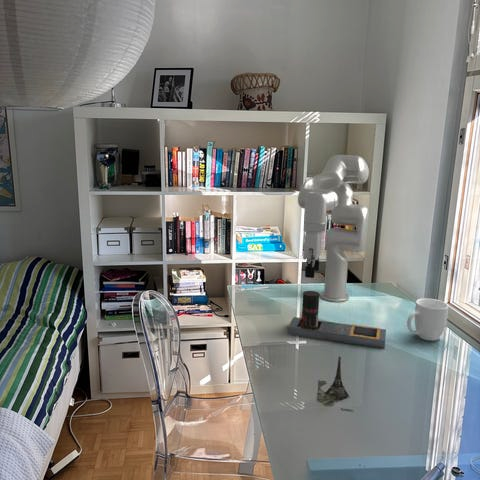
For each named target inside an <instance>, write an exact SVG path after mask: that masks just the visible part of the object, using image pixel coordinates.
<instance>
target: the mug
mask: <svg viewBox="0 0 480 480" xmlns="http://www.w3.org/2000/svg"><path fill="white" fill-rule="evenodd" d="M448 314H449V304H448V303H446V302H445V301H443V300H439V299H434V298H419V299H417V300H416V301H415V307H414V311H412V312H411V313H410V314H409V315H408V318H407V321H406V327H407V330H409V332H410V333H412V334H415V335H417V336H418V337H419V338H420V339H422V340H425V341H428V342H429V341H430V342H435V341H438V340H439V339H440V338H441V337H442V335H443V333H444V331H445V329H446V326H447V322H448ZM413 318H414V327H415V330H413V329H412V319H413Z"/></svg>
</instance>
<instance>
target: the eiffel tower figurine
mask: <svg viewBox="0 0 480 480" xmlns="http://www.w3.org/2000/svg"><path fill="white" fill-rule="evenodd" d="M337 359H338V361H337V368H336V374H335V377H334V380H333V383H332V384H330V387H329V388H328V389H327V390H326V391H324V390H323V389H321V388H322V387H323V386H325V385H327V384H328V382H327V381H326V380H323V379H318V384H317V386H318V387H317V394H316V402H318V403H320V404H321V405H323V406H324V407H334V406H335V403H339V402H342V401H345V400H347V399H349V398H351V396H350V395H349V393H348V391H347V390H346V387H345V386H344V384H343V381H342V374H341V373H342V372H341V371H342V369H341V359H342V357H341V355H339V356H338V358H337ZM334 402H335V403H334ZM340 411H349V412H353V411H354V410H353V409H350V408H349V409H348V408H344V409H343V408H340Z"/></svg>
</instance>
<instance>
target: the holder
mask: <svg viewBox="0 0 480 480" xmlns="http://www.w3.org/2000/svg"><path fill="white" fill-rule="evenodd" d="M301 323H302V317H297V316H295V317H294V316H293V318H292V319H291V321H290V323H289V324H288V326H287V335H290V336H296V337H304V338H310V339H316V338H317V340H324V341H329V340H330V342H336V341H337V343H344V344H350V345H351V344H352V345H358V346H365V347H372V348H378V349H385V348H386V347H385V345H386V335H387V334H386V333H387V329H384V328H380V327H373V326H366V325H361V324H360V325H359V324H349V323H348V324H347V323H340V322H333V321H325V320H319V319H318V328H317V330H316V329H309V328H302V327H301Z"/></svg>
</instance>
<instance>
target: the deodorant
mask: <svg viewBox="0 0 480 480" xmlns="http://www.w3.org/2000/svg"><path fill="white" fill-rule="evenodd" d="M301 305H302V306H301V318H302V323H301V326H300V327H302V328H309V329H316V330H318V329H317V328H318V320H319V311H320V310H319V307H320V293H319V292H318V291H315V290H305V291H303V292H302V304H301Z"/></svg>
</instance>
